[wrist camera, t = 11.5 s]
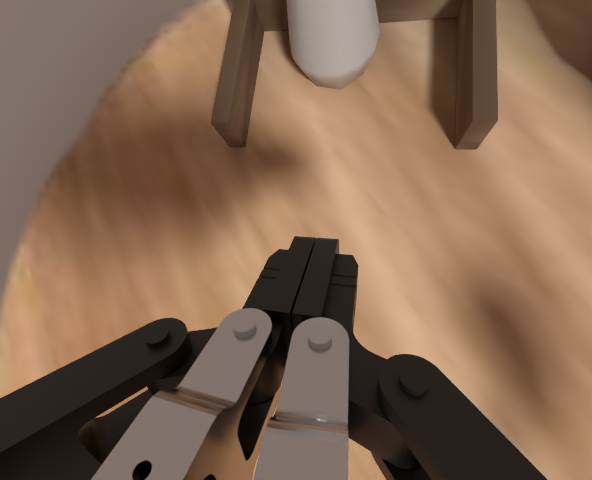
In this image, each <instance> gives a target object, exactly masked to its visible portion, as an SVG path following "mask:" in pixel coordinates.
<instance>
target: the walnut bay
mask: <svg viewBox="0 0 592 480" xmlns="http://www.w3.org/2000/svg"><path fill="white" fill-rule="evenodd" d="M227 2H228V4H229V7H230V9H231V12H232V16H231V21H230V26H229V31H228V37H227V42H226V47H225V52H224V57H223V62H222V67H221V73H220V78H219V83H218V88H217V93H216V98H215V103H214V109H213V114H212V119H211V123H212V125H213V126H214V127H215V129H216V130H217V131H218V132H219V134H220V135H221V136H222V138H223V139H224V140H225V141H226V143H227V144H228V145H229V147H245V144H246V138H247V132H248V126H249V120H250V114H251V108H252V102H253V96H254V90H255V84H256V78H257V72H258V66H259V60H260V54H261V47H262V41H263V35H264V31H275V30H288V29H289V27H288V14H287V1H286V0H227ZM375 3H376V9H377V15H378V21H379V23H385V22H398V21H412V20H426V19H440V18H453V17H457V60H456V133H455V149H477V148H478V147H479V145H480V144H481V143H482V141H483V140H484V138H485V137H486V136H487V134H488V133H489V132H490V130H491V129H492V128H493V126H494V125H495V124H496V122H497V121H498V96H497V39H496V0H375Z"/></svg>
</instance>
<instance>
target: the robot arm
mask: <svg viewBox="0 0 592 480" xmlns="http://www.w3.org/2000/svg"><path fill="white" fill-rule="evenodd" d="M357 277H358V264H357V262H356V260H355V258H354V257H353V255H344V254H339V239H327V238H317V239H316V238H312V237H298V236H295V237H294V239H293V241H292V243H291V246H290V248H289V250H282V249H279V250H278V251H276V252H275V253H274V254H273V255H271V256H270V257H269V258H268V260H267V262H266V264H265V266H264V270H262V272H261V274H260V276H259V278H258V280H257V281H256V283H255V285H254V287H253V289H252V291H251V293H250V295H249V297H248V299H247V301H246V303H245V305H244V307H243V308H242V309H240V310H237V311H235V312H233V313H231V314H229V315H228V316H227V317H225V318H224V319H223V321H222V322H221V323H220V325H219V326H218V327H217V328H212V329H205V330H198V331H190V332H188V331H187V328H186V326H185V324H184V323H183V322H182V321H181V320H178V319H175V318H164V319H159V320H156V321H153V322H151V323H149V324H147V325H145V326H143V327H141V328H139V329H137V330H135V331H133V332H131V333H129V334H127V335H125V336H123V337H121V338H119V339H117V340H115V341H113V342H111V343H109V344H107V345H105V346H103V347H101V348H99V349H97V350H95V351H93V352H92V353H90V354H88V355H86V356H84V357H82V358H80V359H78V360H76V361H74V362H72V363H70V364H68V365H66V366H64V367H62V368H60V369H58V370H56V371H54V372H52V373H50V374H48V375H46V376H44V377H42V378H40V379H38V380H36V381H34V382H32V383H30V384H28V385H26V386H24V387H22V388H20V389H18V390H16V391H14V392H12V393H10V394H8V395H6V396H4V397H2V398H0V480H252V478H253V471H254V467H255V463H256V460H257V457H258V455H259V458H258V462H257V467H256V471H255V476H254V480H348V437H349V438H350V439H352V440H353V441H355V442H357V443H358V444H360V445H362V446H363V447H365V448H366V449H368V450H370V451H371V453H372V456H373V458H374V460H375V461H376V463H377V465H378V466H379V468H380V470H381V471H382V473H383V475H384V476H385V478H386V480H547V479H546V478H545V477H544V476H543V475H542V474H541V473H540V472H539V471H538V470H537V469H536V468H535V467H534V466H533V465H532V463H531V462H530V461H529V460H528V459H527V458H526V457H525V456H524V455H523V454H522V453H521V452H520V451H519V450H518V449H517V448H516V447H515V446H514V445H513V444H512V443H511V442H510V441H509V440H508V439H507V438H506V437H505V436H504V435H503V434H502V433H501V432H500V431H499V430H498V429H497V428H496V427H495V426H494V425H493V424H492V423H491V422H490V421H489V420H488V419H487V418H486V417H485V416H484V415H483V414H482V413H481V412H480V411H479V410H478V409H477V408H476V407H475V405H474V404H473V403H472V402H471V401H470V400H469V399H468V398H467V397H466V396H465V395H464V394H463V393H462V392H461V391H460V390H459V389H458V388H457V387H456V386H455V385H454V384H453V383H452V382H451V381H450V380H449V379H448V378H447V377H446V376H445V375H444V374H443V373H442V372H441V371H440V370H439V369H438V368H437V367H436V366H435V365H434V364H432V363H431V362H429V361H427V360H426V359H424V358H421V357H419V356H415V355H410V354H400V355H395V356H392V357H390V358H389V359H385V358H383V357H380V356H378V355H376V354H374V353H372V352H370V351H368V350H367V349H365V348H364V347H363V346H362V345H361V344H360V343H359V342H358V341H357V340H356V338H355V336H354V334H353V326H354V316H355V306H356V294H357ZM283 375H284V376H283ZM282 379H283V380H282ZM281 382H282V385H281ZM146 386H147V387H148V390H147V391H145V392H143V393H142V394H140V395H138V396H137V397H135V398H133V399H132V400H130V401H128V402H127V403H125V404H124V405H122V406H120V407H119V408H117V409H115V410H114V411H112V412H110V413H109V414H107V415H105V416H102V417H98V418H95V417H97V416H98V415H100V414H102V413H103V412H105V411H107V410H108V409H110V408H112V407H113V406H115V405H117V404H118V403H120V402H121V401H123V400H125V399H126V398H128V397H130V396H131V395H133V394H135V393H136V392H138V391H140V390H141V389H143V388H145V387H146ZM277 403H278V404H277ZM276 406H277V409H276V412H275V415H274V416H273V414H274V411H275V408H276ZM259 452H260V454H259Z"/></svg>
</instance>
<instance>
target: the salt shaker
mask: <svg viewBox="0 0 592 480" xmlns="http://www.w3.org/2000/svg"><path fill="white" fill-rule="evenodd" d="M286 1H287V14H288V27H289V40H290V47H291V53H292V57H293V59H294V61H295V63H296V64H297V65H298V66H299V67H300V69H301V70H302V71H303V72H304V73H305V75H306V76H307V77H308V78H309V79H310V80H311V81H312V82H314V83H315V84H316V85H317V86H321V87H328V88H335V89H342V88H344V87H345V86H347V85H348V84H349V83H351V82H352V81H354V80H355V79H356V78H358V77H359V76H361V75H362V74H363V73H364V71H365V69H366V67H367V66H368V64H369V62H370V60H371V59H372V57H373V55H374V52H375V48H376V45H377V42H378V39H379V35H380V26H379V21H378V15H377V9H376V3H375V0H286Z"/></svg>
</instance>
